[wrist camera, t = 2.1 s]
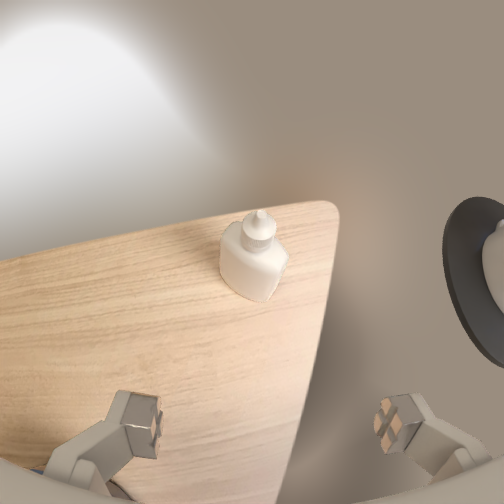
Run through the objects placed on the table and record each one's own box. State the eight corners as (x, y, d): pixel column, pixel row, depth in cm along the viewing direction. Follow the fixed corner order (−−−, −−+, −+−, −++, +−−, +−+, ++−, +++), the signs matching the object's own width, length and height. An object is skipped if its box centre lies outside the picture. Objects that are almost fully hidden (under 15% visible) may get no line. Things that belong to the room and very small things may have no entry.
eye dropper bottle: (253, 249, 33) (269, 173, 23) (280, 296, 31) (311, 236, 21) (215, 265, 32) (213, 193, 21) (240, 315, 30) (252, 262, 19)
